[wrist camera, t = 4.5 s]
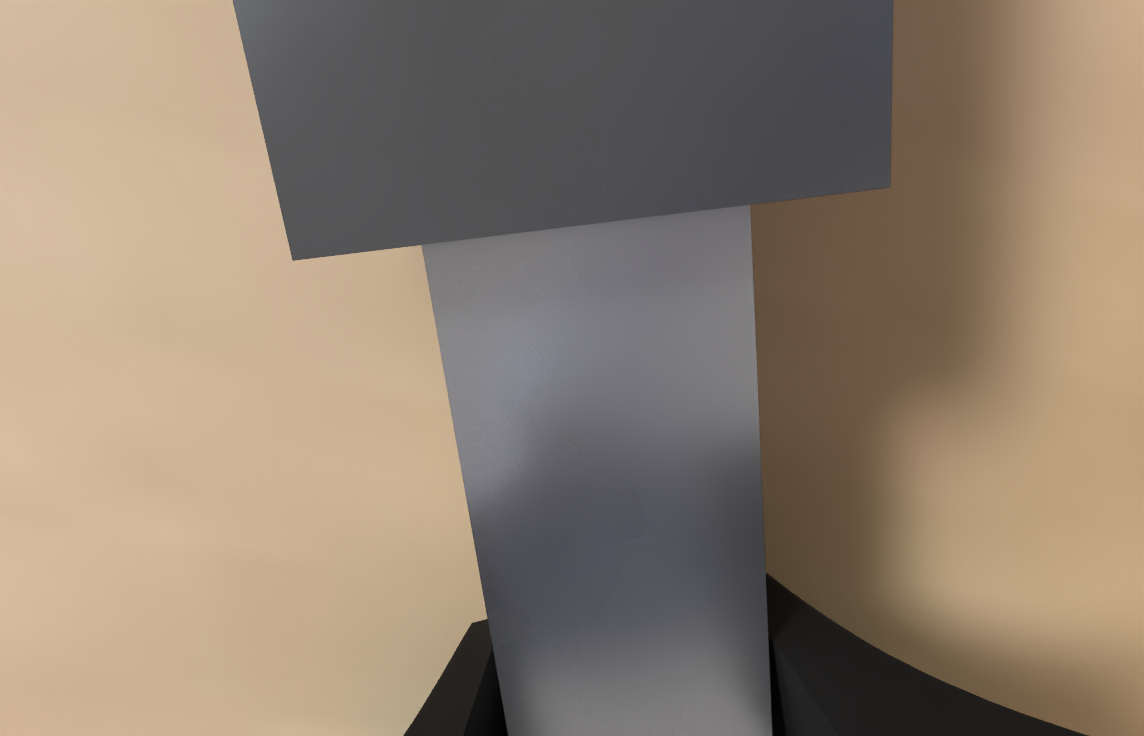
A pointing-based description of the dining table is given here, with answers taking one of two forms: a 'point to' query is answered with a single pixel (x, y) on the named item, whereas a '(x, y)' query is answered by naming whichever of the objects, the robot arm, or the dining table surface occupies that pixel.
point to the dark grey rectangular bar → (559, 111)
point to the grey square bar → (613, 470)
